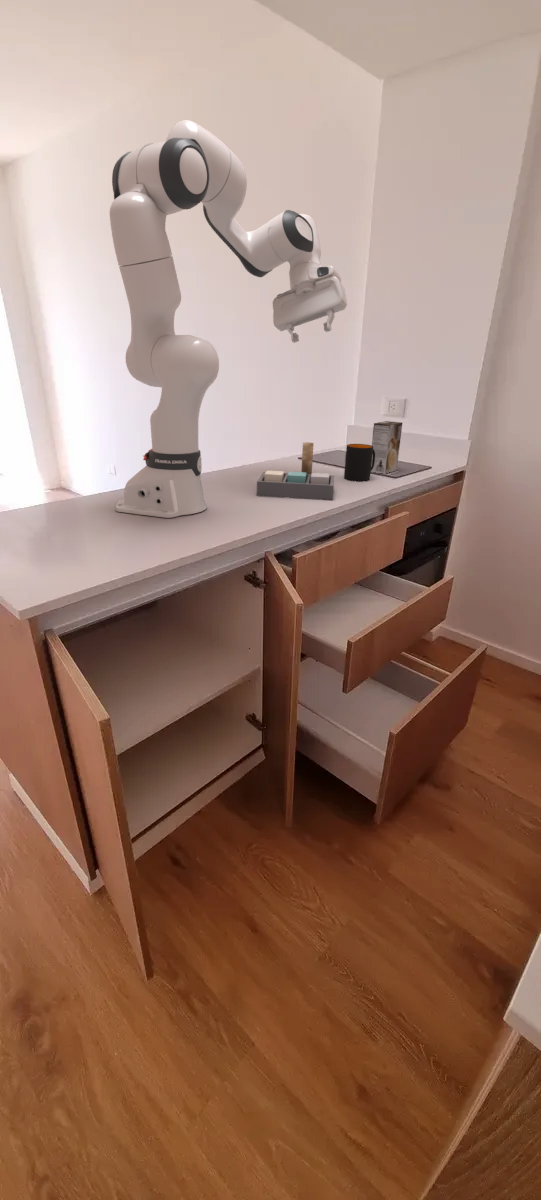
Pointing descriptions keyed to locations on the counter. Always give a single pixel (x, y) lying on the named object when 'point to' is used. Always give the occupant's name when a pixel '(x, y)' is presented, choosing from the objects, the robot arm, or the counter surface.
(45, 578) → the counter surface
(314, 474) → the key grey
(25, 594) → the counter surface
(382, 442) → the coffee box
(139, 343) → the robot arm
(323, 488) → the gray divided sorting tray
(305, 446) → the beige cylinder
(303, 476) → the key teal
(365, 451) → the mug
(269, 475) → the key cream
